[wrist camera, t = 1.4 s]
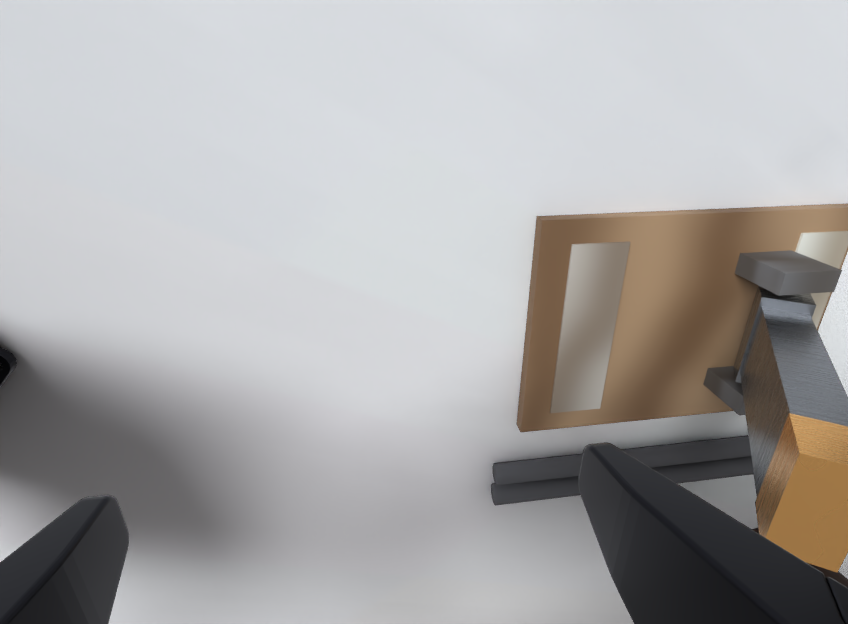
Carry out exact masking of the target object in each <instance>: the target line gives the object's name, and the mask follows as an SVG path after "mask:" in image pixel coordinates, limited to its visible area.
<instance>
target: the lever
mask: <svg viewBox="0 0 848 624" xmlns="http://www.w3.org/2000/svg"><path fill="white" fill-rule="evenodd" d="M815 308H816V304H815V302H814V300H813V298H812V296H811V294H795V295H781V296H778V295H776V294H774V293H772V292H770V291H768V290H766V289H764V288H762V287H760V286H758V288H757V292H756V295H755V298H754V302H753V305H752V308H751V311H750V315H749V318H748V321H747V324H746V328H745V331H744V334H743V337H742V341H741V344H740V347H739V350H738V354H737V357H736V360H735V363H734V375H735V382H738V383H742V390H743V397H744V405H745V412H746V420H747V427H748V434H749V442H750V449H751V457H752V464H753V471H754V479H755V486H756V494H757V499H756V502H755V505H756V513H757V520H758V528H759V534H760V535H762V536H763V537H765V538H767V539H768V540H770V541H772V542H773V543H775V544H776V545H778V546H780V547H781V548H783V549H785V550H786V551H788V552H790V553H791V554H793V555H794V556H796V557H798V558H799V559H801V560H803V561H804V562H806V563H809V564H812V565H815V566H819V567H822V568H825V569H828V570H831V571H834V572H838V570H839V568H840V567H841V565H842V563H843V561H844V559H845V557H846V555H847V553H848V397H847V395H846V392H845V390H844V388H843V386H842V384H841V381H840V379H839V377H838V375H837V373H836V370H835V368H834V366H833V364H832V362H831V359H830V357H829V355H828V353H827V351H826V349H825V346H824V344H823V342H822V340H821V338H820V335H819V333H818V331H817V329H816V327H815V324H814V322H813V320H812V316H813V314H814V311H815Z"/></svg>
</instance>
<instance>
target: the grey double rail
mask: <svg viewBox="0 0 848 624" xmlns="http://www.w3.org/2000/svg"><path fill="white" fill-rule="evenodd" d="M622 451H624V452H626V453H627V454H629V455H631V456H632V457H634V458H635V459H637V460H639V461H640V462H642V463H644V464H645V465H647V466H649V467H650V468H652V469H653V470H655V471H657V472H658V473H660V474H662V475H663V476H665V477H667V478H668V479H670V480H672V481H673V482H675V483H684V482H693V481H701V480H709V479H717V478H726V477H734V476H742V475H751V474H754V471H753V464H752V457H751V449H750V442H749V436H743V437H734V438H725V439H716V440H707V441H697V442H688V443H679V444H670V445H661V446H652V447H642V448H633V449H624V450H622ZM582 457H583V454H578V455H569V456H560V457H551V458H542V459H532V460H523V461H514V462H505V463H496V464H493V477H494V481H495V484H492V485H491V494H492V499H493V503H494V505H502V504H510V503H519V502H527V501H535V500H544V499H552V498H560V497H568V496H577V495H581V494H580V490H579V474H580V468H581V463H582Z"/></svg>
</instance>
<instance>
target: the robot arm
mask: <svg viewBox="0 0 848 624" xmlns="http://www.w3.org/2000/svg"><path fill="white" fill-rule="evenodd" d="M0 363H1V364H2V366H0V388H1V386H2V385H3V384H4V382H5V381H6V379H7V378H8V377H9V375H10V374H11V373H12V371H13V370H14V368H15V367H16V364H17V362H16V358H15V357H14V355H13V354H12V353H10V352H9V351H7V350H5V349H3V348H1V347H0ZM579 490H580V494H581V497H582V500H583V502H584V505H585V508H586V510H587V513H588V516H589V518H590V521H591V524H592V526H593V529H594V532H595V535H596V537H597V540H598V543H599V545H600V548H601V551H602V553H603V556H604V559H605V561H606V564H607V567H608V569H609V572H610V574H611V577H612V579H613V581H614V583H615V585H616V587H617V590H618V592H619V594H620V596H621V598H622V600H623V602H624V604H625V606H626V608H627V610H628V612H629V614H630V616H631V618H632V620H633V622H634V624H848V588H847V587H846V586H844V585H842V584H841V583H839V582H837V581H836V580H834V579H832V578H831V577H826V578H825V575H824V574H823V573H822V572H821V571H819V570H817V569H816V568H814V567H813V566H811V565H809V564H808V563H806V562H804V561H803V560H801V559H799V558H798V557H796V556H794V555H793V554H791V553H790V552H788V551H786V550H785V549H783V548H781V547H780V546H778V545H776V544H775V543H773V542H772V541H770V540H768V539H767V538H765V537H763V536H762V535H760V534H758V533H757V532H755V531H753V530H752V529H750V528H749V527H747V526H745V525H744V524H742V523H740V522H739V521H737V520H735V519H734V518H732V517H731V516H729V515H727V514H726V513H724V512H722V511H721V510H719V509H717V508H716V507H714V506H713V505H711V504H709V503H708V502H706V501H704V500H703V499H701V498H699V497H698V496H696V495H694V494H693V493H691V492H690V491H688V490H686V489H685V488H683V487H681V486H680V485H678V484H676V483H675V482H673V481H672V480H670V479H668V478H667V477H665V476H663V475H662V474H660V473H658V472H657V471H655V470H653V469H652V468H650V467H649V466H647V465H645V464H644V463H642V462H640V461H639V460H637V459H635V458H634V457H632V456H631V455H629V454H627V453H626V452H624V451H622V450H621V449H619V448H617V447H616V446H614V445H612V444H610V443H597V444H589V445H587V446H586V447H585V449H584V452H583V457H582V463H581V468H580V474H579ZM128 544H129V534H128V529H127V526H126V524H125V521H124V518H123V515H122V512H121V509H120V506H119V504H118V501H117V499H116V498H115V497H114V496H112V495H101V496H91V497H86V498H83V499H81V500H80V501H78V502H77V503H76V504H74V505H73V506H72V507H71V508H69V509H68V510H67V511H65V512H64V513H63V514H62V515H60V516H59V517H58V518H56V519H55V520H54V521H53V522H51V523H50V524H49V525H47V526H46V527H45V528H44V529H42V530H41V531H40V532H39V533H37V534H36V535H35V536H33V537H32V538H31V539H30V540H28V541H27V542H26V543H24V544H23V545H22V546H21V547H19V548H18V549H17V550H16V551H14V552H13V553H12V554H10V555H9V556H8V557H7V558H5V559H4V560H3V561H1V562H0V624H108V623H109V619H110V615H111V611H112V607H113V604H114V600H115V596H116V592H117V588H118V584H119V580H120V577H121V573H122V569H123V565H124V561H125V557H126V553H127V550H128Z"/></svg>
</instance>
